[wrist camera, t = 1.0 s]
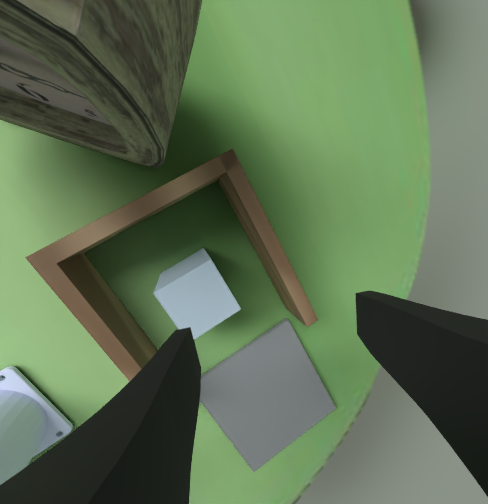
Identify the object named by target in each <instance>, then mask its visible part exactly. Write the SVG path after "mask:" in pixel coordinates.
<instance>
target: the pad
mask: <svg viewBox="0 0 488 504" xmlns="http://www.w3.org/2000/svg"><path fill="white" fill-rule="evenodd" d="M200 401H201V403H202V404H203V405H204V407H205V408H206V409H207V411H208V412H209V413H210V415H211V416H212V417H213V418H214V420H215V421H216V422H217V424H218V425H219V426H220V428H221V429H222V430H223V432H224V433H225V434H226V436H227V437H228V438H229V440H230V441H231V442H232V444H233V445H234V446H235V448H236V449H237V450H238V452H239V453H240V454H241V456H242V457H243V458H244V460H245V461H246V462H247V464H248V465H249V466H250V468H251V469H252V470H253V471H256V470H257V469H258V468H260V467H261V466H262V465H264V464H265V463H266V462H267V461H269V460H270V459H271V458H273V457H274V456H275V455H276V454H278V453H279V452H280V451H282V450H283V449H284V448H286V447H287V446H288V445H289V444H291V443H292V442H293V441H295V440H296V439H297V438H299V437H300V436H301V435H302V434H304V433H305V432H306V431H308V430H309V429H310V428H311V427H313V426H314V425H315V424H317V423H318V422H319V421H321V420H322V419H323V418H324V417H326V416H327V415H328V414H330V413H331V412H332V411H333V410H335V409H336V407H335V405H334V403H333V401H332V399H331V398H330V396H329V394H328V392H327V390H326V388H325V387H324V385H323V383H322V381H321V379H320V377H319V376H318V374H317V372H316V370H315V368H314V366H313V364H312V363H311V361H310V359H309V357H308V355H307V353H306V352H305V350H304V348H303V346H302V344H301V342H300V341H299V339H298V337H297V335H296V333H295V331H294V330H293V328H292V326H291V324H290V322H289V320H288V319H287V318H286V319H284V320H283V321H281V322H280V323H278V324H277V325H275V326H274V327H272V328H271V329H269V330H268V331H266V332H265V333H264V334H262V335H261V336H259V337H258V338H256V339H255V340H253V341H252V342H250V343H249V344H247V345H246V346H244V347H243V348H241V349H240V350H238V351H237V352H235V353H234V354H232V355H231V356H229V357H228V358H226V359H225V360H223V361H222V362H221V363H219V364H218V365H216V366H215V367H213V368H212V369H210V370H209V371H207V372H206V373H204V374H203V375H201V392H200Z"/></svg>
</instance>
